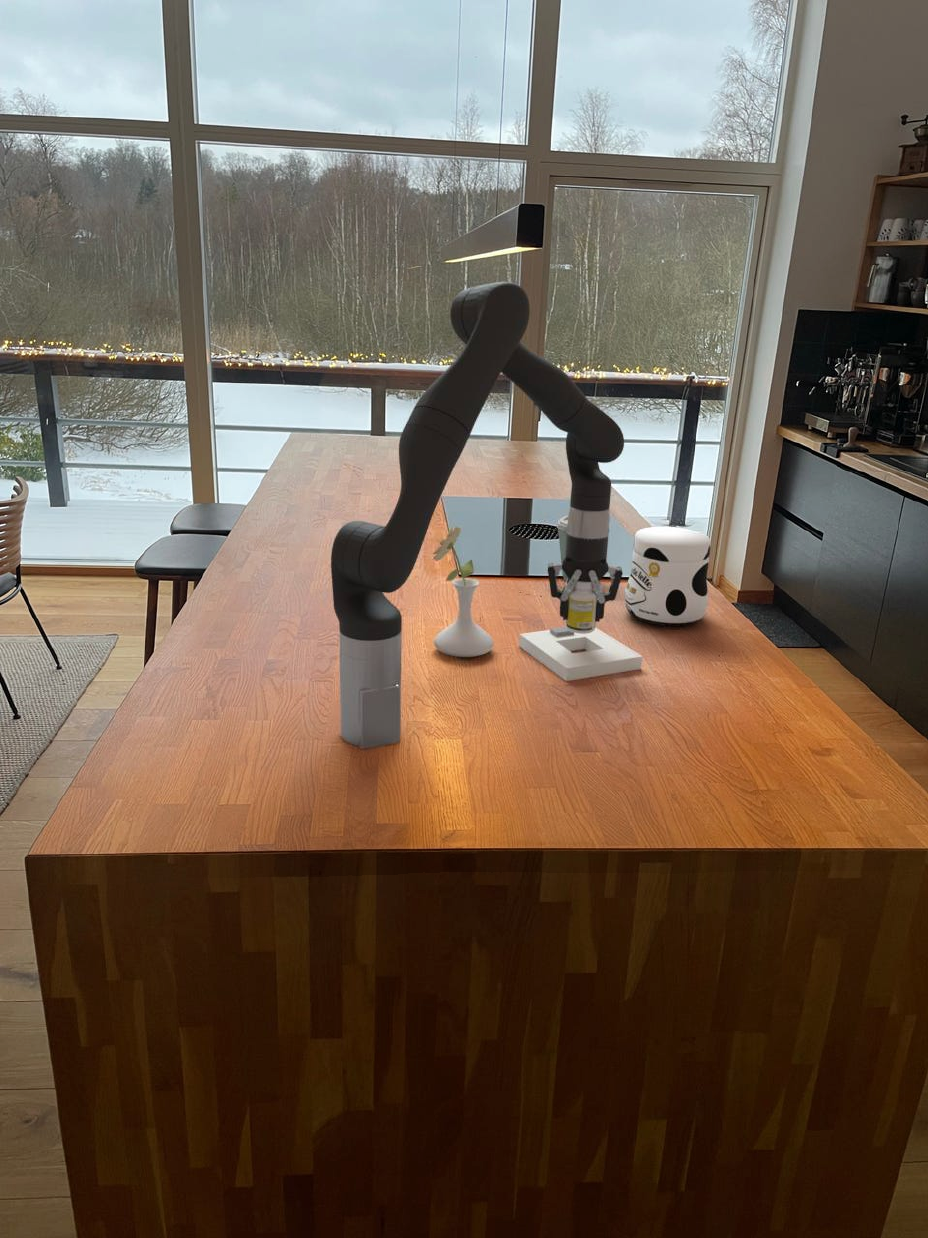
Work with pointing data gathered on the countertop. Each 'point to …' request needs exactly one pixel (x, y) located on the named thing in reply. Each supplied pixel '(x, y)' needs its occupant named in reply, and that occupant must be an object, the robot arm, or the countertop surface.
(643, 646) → the countertop surface
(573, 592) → the supplement bottle
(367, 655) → the robot arm
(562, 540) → the disposable coffee cup
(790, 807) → the countertop surface
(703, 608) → the milk container
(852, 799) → the countertop surface
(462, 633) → the flower in vase
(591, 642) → the socket plate
